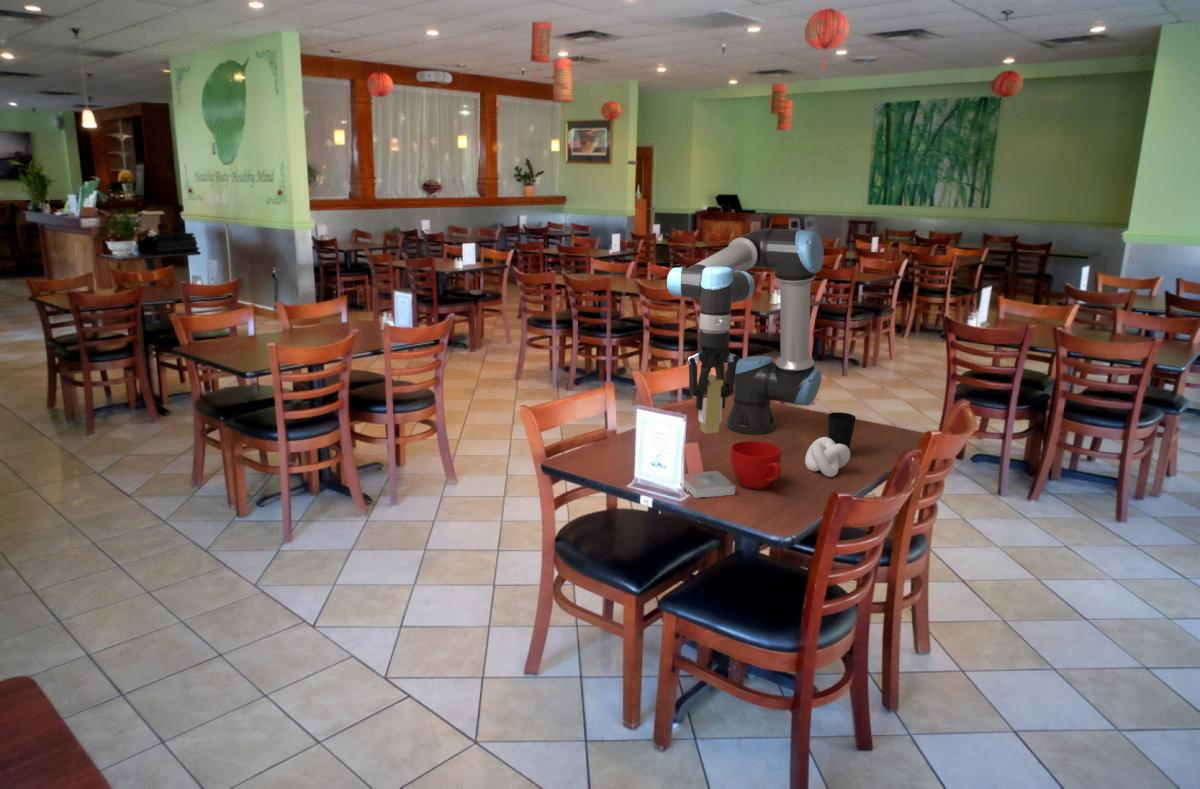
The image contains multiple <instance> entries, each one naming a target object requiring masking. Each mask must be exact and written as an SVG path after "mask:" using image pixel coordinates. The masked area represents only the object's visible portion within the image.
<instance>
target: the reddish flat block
mask: <svg viewBox="0 0 1200 789" xmlns="http://www.w3.org/2000/svg"><path fill="white" fill-rule="evenodd" d="M699 447H700V446H699V442H688V443H687V442H686V443H685V451H684V450H683V452H684V457H685V465H686V468H687V472H688V473H697V472H705V471H704V466H703V462H702V456H701V452H700V448H699Z"/></svg>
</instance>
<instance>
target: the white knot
mask: <svg viewBox="0 0 1200 789" xmlns="http://www.w3.org/2000/svg"><path fill="white" fill-rule="evenodd" d="M838 455H839V456H838ZM850 457H851V450H850V449H849V448H848V447H847V446H846V445H843V444H835V443H834V441H833V440H832V439H830V438H828V437H827V436H822V437H819V438H817V439H815V440H814V441H813V442H812V443H811V445H809V448H807V451H806V453H805V457H804V463H805V466H806V468H807V469H808V470H809V471H811V472H818V471H820V472H821V473H822V474H823V475H824V476H825V477H827V478H832V477H835V476H836V475H837V474H838V473H839V469H841V468H843V467H844V466H845V465H846V464H847V463H848V462H849V460H850V459H851V458H850Z"/></svg>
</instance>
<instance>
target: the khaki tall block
mask: <svg viewBox="0 0 1200 789" xmlns="http://www.w3.org/2000/svg"><path fill="white" fill-rule="evenodd" d="M721 386H723V380H722V379H720V378H719V377H717V376H716V374H709V376H708V380H707V385H706V389H705V394H704V397H705V398H707V400H706V420H705V423H704V424H703V423H701V422H700V421H699V422H700V423H699V430H700V431H702V432H703V433H704V434H717V433H719V431H720V422H719V418H720V400H721Z"/></svg>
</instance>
